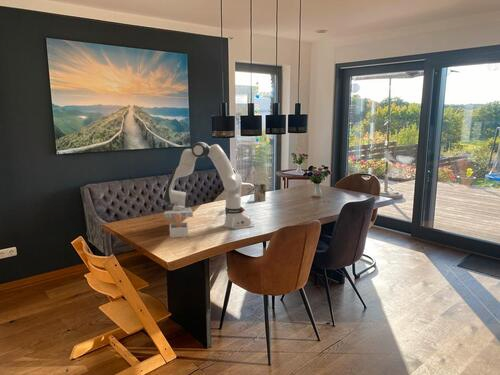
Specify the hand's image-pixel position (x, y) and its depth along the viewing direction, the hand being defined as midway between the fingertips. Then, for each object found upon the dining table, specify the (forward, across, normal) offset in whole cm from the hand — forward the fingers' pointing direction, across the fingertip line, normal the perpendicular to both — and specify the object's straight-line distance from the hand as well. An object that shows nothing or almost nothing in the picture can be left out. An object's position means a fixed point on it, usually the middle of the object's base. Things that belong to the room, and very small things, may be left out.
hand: (178, 216), depth 266 cm
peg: (+2, 0, +11) cm, 12 cm away
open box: (+2, 0, +12) cm, 12 cm away
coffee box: (-88, +75, +12) cm, 116 cm away
